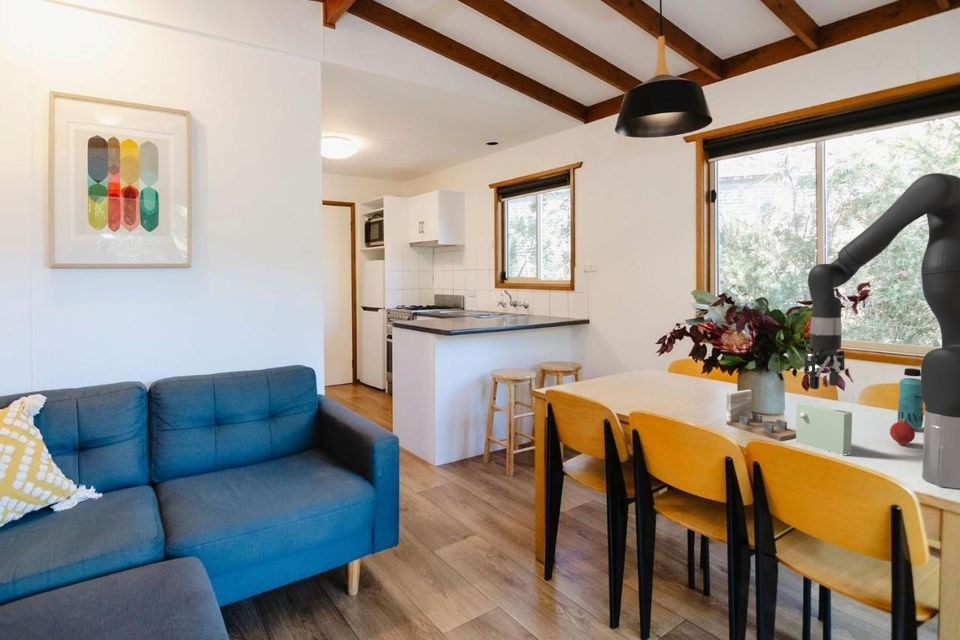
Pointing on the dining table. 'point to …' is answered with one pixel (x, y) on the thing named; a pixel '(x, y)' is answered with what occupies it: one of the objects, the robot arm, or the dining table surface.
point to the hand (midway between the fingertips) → (823, 387)
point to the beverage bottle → (911, 399)
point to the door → (824, 428)
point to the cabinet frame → (753, 417)
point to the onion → (902, 432)
